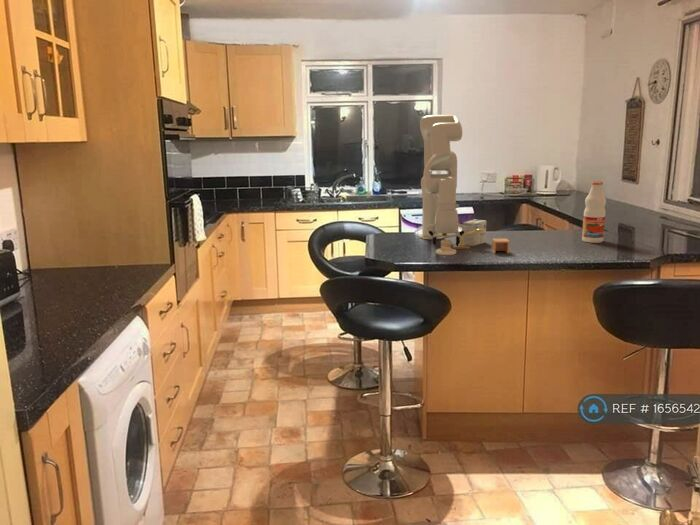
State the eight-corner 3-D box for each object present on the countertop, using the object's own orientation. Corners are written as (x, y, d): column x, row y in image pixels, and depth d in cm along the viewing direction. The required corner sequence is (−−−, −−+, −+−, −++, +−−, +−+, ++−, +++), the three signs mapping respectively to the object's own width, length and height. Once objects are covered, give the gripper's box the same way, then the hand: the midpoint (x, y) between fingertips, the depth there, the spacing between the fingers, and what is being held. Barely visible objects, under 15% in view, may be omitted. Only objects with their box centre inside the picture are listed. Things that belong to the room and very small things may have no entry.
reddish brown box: (491, 250, 260) (492, 238, 259) (506, 250, 259) (506, 238, 258) (494, 253, 254) (494, 241, 252) (508, 253, 253) (509, 241, 252)
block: (440, 249, 259) (441, 240, 258) (449, 249, 259) (450, 240, 258) (441, 250, 255) (441, 242, 254) (450, 250, 255) (451, 242, 254)
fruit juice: (597, 239, 280) (602, 180, 273) (606, 242, 271) (611, 182, 264) (578, 239, 280) (582, 181, 273) (586, 243, 271) (591, 183, 264)
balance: (438, 246, 270) (439, 228, 268) (482, 246, 268) (483, 228, 266) (439, 249, 265) (440, 230, 263) (484, 248, 263) (485, 230, 261)
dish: (435, 250, 261) (435, 248, 261) (455, 250, 260) (455, 248, 260) (436, 255, 252) (436, 252, 252) (457, 255, 252) (457, 252, 251)
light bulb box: (474, 240, 282) (475, 218, 279) (486, 242, 277) (487, 220, 274) (461, 244, 274) (462, 221, 272) (473, 246, 270) (474, 223, 267)
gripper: (466, 205, 255) (464, 243, 259) (426, 206, 256) (425, 244, 260) (468, 208, 247) (467, 247, 251) (427, 208, 249) (426, 247, 253)
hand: (446, 245), depth 256 cm, fingers open, 9 cm apart
